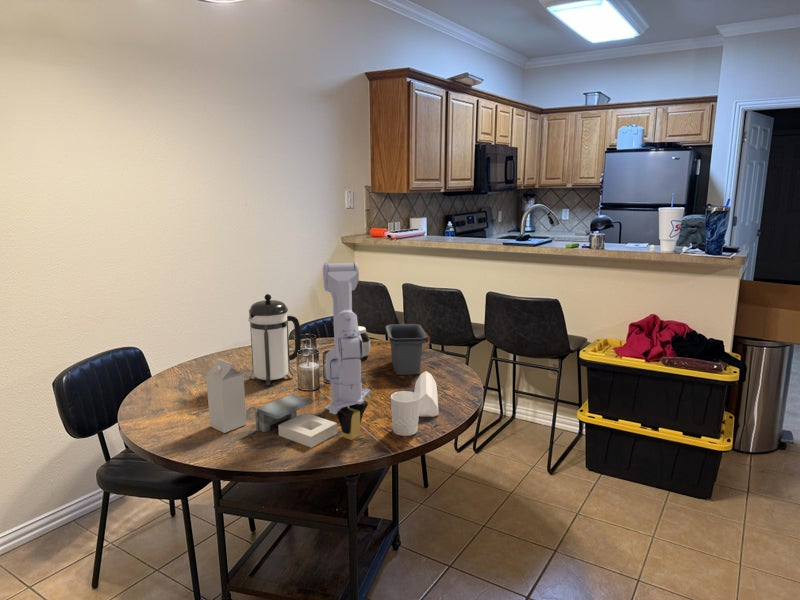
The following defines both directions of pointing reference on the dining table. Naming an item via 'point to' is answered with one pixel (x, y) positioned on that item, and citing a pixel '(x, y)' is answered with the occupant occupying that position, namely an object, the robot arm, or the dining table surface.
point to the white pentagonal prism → (427, 395)
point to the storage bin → (406, 347)
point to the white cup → (405, 412)
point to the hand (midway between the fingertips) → (351, 430)
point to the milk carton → (226, 397)
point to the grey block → (279, 411)
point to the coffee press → (271, 339)
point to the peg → (354, 426)
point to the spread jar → (364, 342)
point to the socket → (307, 429)
